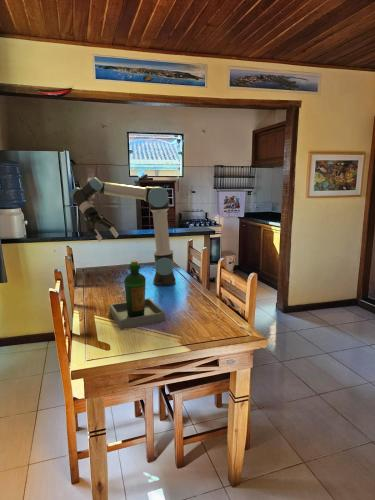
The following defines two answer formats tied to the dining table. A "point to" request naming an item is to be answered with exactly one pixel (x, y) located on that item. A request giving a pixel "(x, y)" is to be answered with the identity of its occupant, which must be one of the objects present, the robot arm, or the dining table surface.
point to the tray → (124, 321)
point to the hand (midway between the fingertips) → (109, 238)
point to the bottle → (135, 291)
